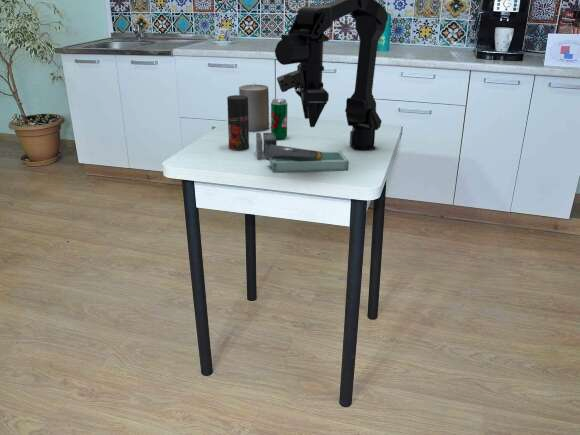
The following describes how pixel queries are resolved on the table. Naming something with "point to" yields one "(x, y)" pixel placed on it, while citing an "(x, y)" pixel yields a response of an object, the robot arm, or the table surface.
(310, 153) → the dark grey cylinder
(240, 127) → the deodorant
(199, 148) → the table surface
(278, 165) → the tray
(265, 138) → the clevis
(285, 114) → the soda can
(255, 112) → the pillar candle
